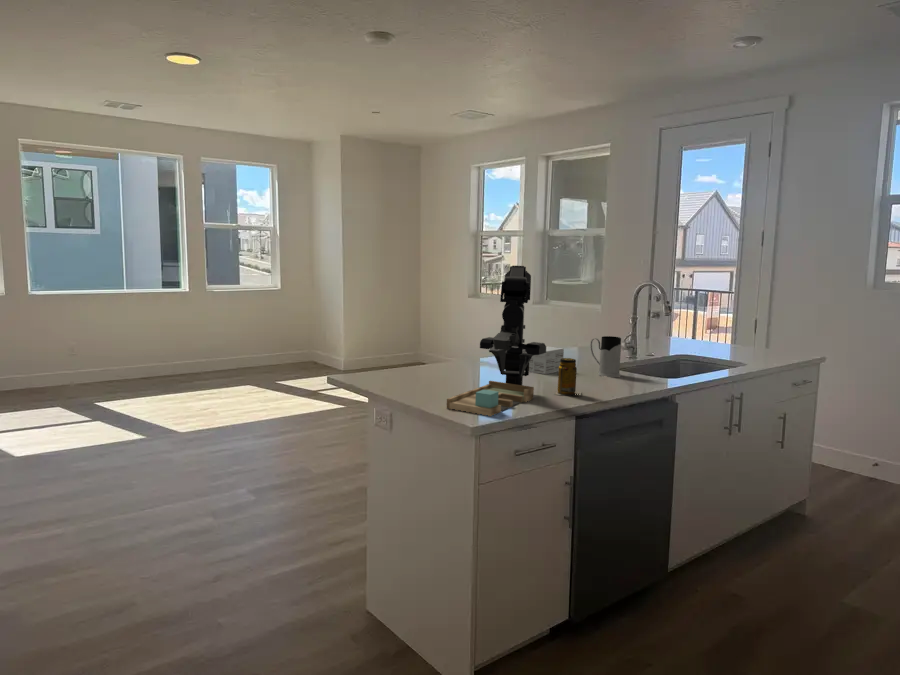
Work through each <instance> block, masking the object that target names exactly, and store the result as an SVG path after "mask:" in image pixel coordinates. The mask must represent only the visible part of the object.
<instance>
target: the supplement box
mask: <svg viewBox="0 0 900 675" xmlns="http://www.w3.org/2000/svg"><path fill="white" fill-rule="evenodd" d="M564 350H565V349H564V348H560V347H553V346H546V353H544V354H540V355H534V356H532V358H531V359H530V361H529V373H530V372H531V373H536V374H542V375H548V374H552V373H559V366H560V360H561V359H562V358H564V357H565V356H564Z"/></svg>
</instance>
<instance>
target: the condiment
mask: <svg viewBox="0 0 900 675" xmlns="http://www.w3.org/2000/svg"><path fill="white" fill-rule="evenodd" d="M576 365H577V360H576V359H575V358H570V357H563V358H562V359H561V360H560V366H559V372H557V373H558V376H557V391H556V392H555V393H554V395H557V396H568V397H569V396H570V397H581V396H580V395H579V394H580V393H581V392H580V391H576V386H577V370H578V369H577V366H576ZM579 392H580V393H579ZM575 393H578V395H577V394H576V396H575ZM571 395H573V396H571Z"/></svg>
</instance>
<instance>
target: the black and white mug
mask: <svg viewBox="0 0 900 675" xmlns="http://www.w3.org/2000/svg"><path fill="white" fill-rule="evenodd" d="M594 340H596V341H597V344H598V349H599V351H600V352H599V353H600V354H599V360H598V359H597V357H596V356H595V354H594V351H593V342H594ZM600 340H601V341H600ZM590 351H591V355H592V357H593V359H594V360H595V361H596V363H597V364H598V365H599V367H598V373H597V376H600V377H604V376H607V377H606V378H618V377H617V376H620V377H621V374H620V368H621V351H622V338H621V337H620V336H613V335H612V336H609V335H607V336H605V335H604V336H601V339H599V338H597V337H596V338H595V337H594V338H592V339H591V340H590Z"/></svg>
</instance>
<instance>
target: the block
mask: <svg viewBox="0 0 900 675" xmlns="http://www.w3.org/2000/svg"><path fill="white" fill-rule="evenodd" d="M498 394H499V392H497V391H491V390H481V391H478V392H476V401H475V406H481V407H487V408H492V407H494V406H497V405H498Z"/></svg>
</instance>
